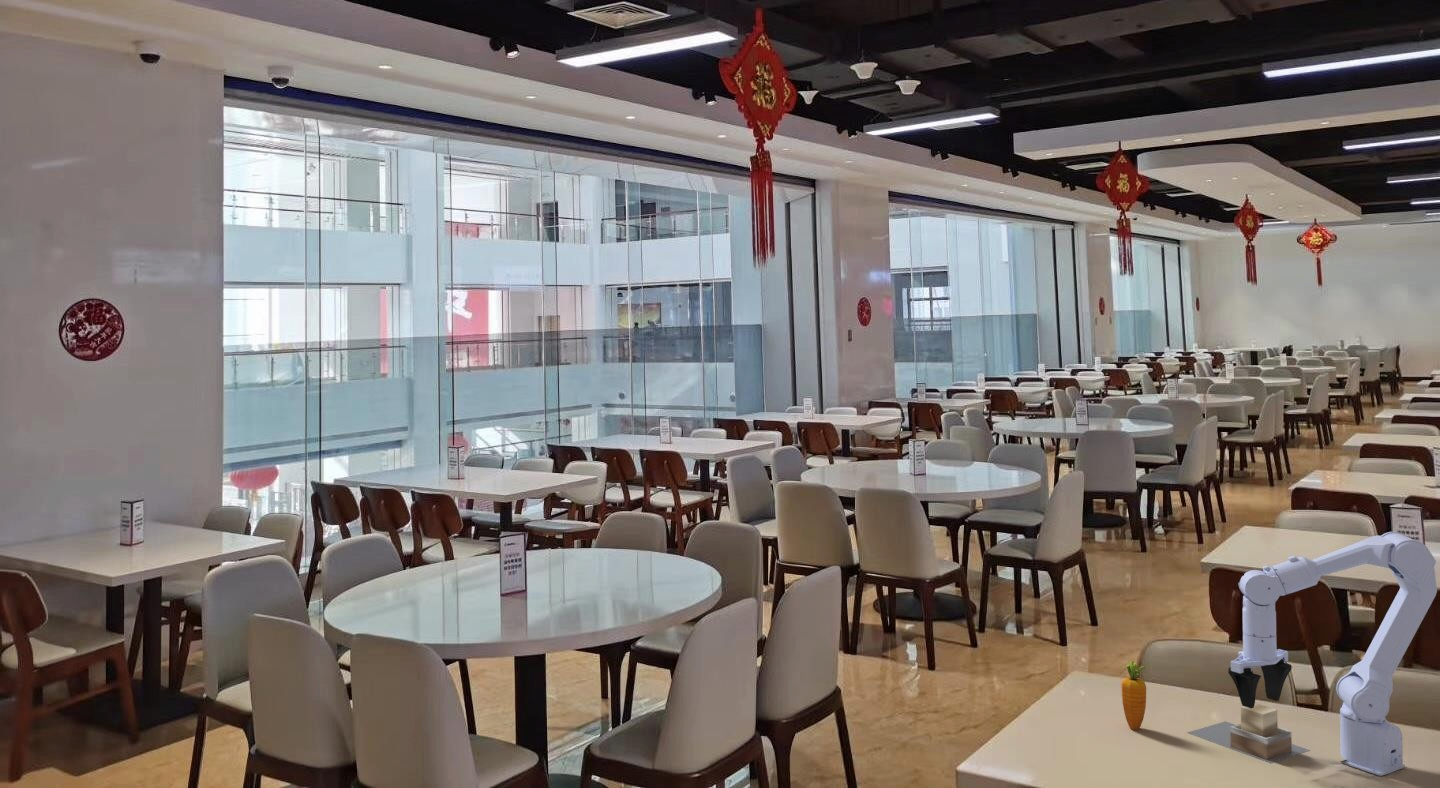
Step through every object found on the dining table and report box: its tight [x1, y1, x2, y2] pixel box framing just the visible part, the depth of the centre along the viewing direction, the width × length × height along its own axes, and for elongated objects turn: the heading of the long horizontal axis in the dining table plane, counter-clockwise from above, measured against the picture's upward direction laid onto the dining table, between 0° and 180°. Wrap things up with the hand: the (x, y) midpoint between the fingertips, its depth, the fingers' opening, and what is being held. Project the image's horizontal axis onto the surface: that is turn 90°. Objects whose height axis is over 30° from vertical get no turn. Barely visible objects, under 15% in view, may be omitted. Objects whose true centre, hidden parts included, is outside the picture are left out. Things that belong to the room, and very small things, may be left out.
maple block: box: [1240, 702, 1279, 738], centre depth 192 cm, size 4×4×5 cm
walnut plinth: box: [1230, 723, 1293, 760], centre depth 192 cm, size 8×8×4 cm
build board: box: [1186, 721, 1311, 764], centre depth 197 cm, size 18×12×1 cm, turn 27°
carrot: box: [1120, 661, 1147, 731], centre depth 205 cm, size 5×5×15 cm
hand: (1260, 703), depth 192 cm, fingers open, 7 cm apart
